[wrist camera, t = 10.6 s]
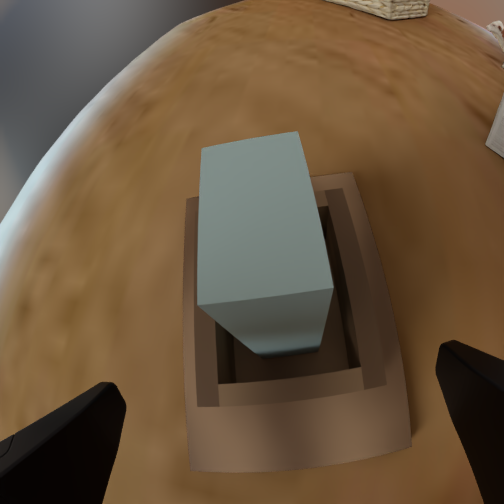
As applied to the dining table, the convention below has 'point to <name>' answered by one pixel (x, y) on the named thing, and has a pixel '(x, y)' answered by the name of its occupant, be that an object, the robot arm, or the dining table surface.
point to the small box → (497, 131)
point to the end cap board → (300, 364)
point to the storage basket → (389, 7)
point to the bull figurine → (497, 33)
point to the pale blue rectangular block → (262, 246)
